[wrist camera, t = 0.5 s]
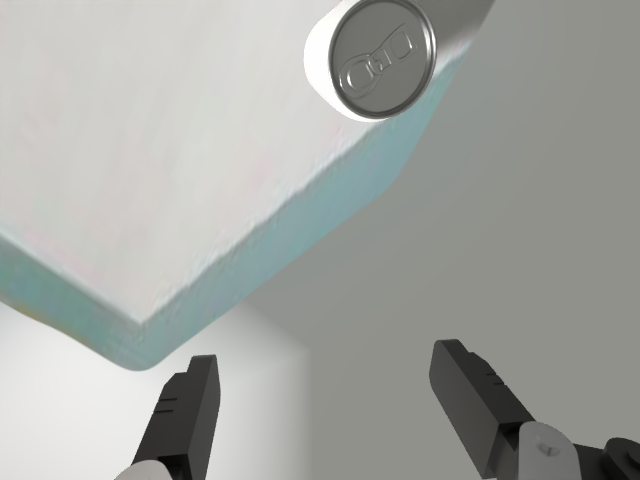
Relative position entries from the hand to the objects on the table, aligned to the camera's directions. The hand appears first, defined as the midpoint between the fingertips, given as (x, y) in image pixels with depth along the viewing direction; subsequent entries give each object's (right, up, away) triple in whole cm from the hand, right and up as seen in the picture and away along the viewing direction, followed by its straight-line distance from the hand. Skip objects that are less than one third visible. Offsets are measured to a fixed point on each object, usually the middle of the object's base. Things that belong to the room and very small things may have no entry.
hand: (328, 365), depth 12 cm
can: (+2, +20, +15) cm, 25 cm away
